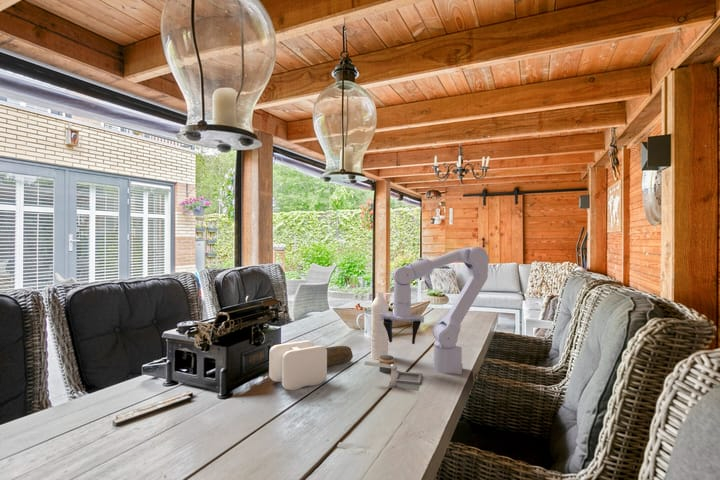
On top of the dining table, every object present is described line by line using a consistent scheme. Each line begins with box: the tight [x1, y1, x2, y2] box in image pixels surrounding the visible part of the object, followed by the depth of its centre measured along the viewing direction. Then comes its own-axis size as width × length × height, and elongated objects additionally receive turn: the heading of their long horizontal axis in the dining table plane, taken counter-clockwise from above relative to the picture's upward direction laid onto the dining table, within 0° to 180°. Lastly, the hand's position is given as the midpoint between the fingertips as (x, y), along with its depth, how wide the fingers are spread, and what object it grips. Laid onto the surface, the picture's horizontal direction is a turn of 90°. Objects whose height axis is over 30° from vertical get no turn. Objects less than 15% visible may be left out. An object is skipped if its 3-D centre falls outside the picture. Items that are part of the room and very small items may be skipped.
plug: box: [378, 354, 395, 374], centre depth 125 cm, size 5×5×5 cm
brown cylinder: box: [325, 345, 354, 368], centre depth 132 cm, size 15×7×7 cm, turn 132°
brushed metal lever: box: [364, 360, 398, 370], centre depth 113 cm, size 10×2×1 cm, turn 71°
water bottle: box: [370, 291, 392, 361], centre depth 139 cm, size 9×6×25 cm
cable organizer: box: [268, 339, 328, 392], centre depth 116 cm, size 15×11×12 cm
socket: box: [387, 369, 423, 391], centre depth 116 cm, size 9×14×6 cm, turn 166°
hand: (402, 342), depth 126 cm, fingers open, 7 cm apart
